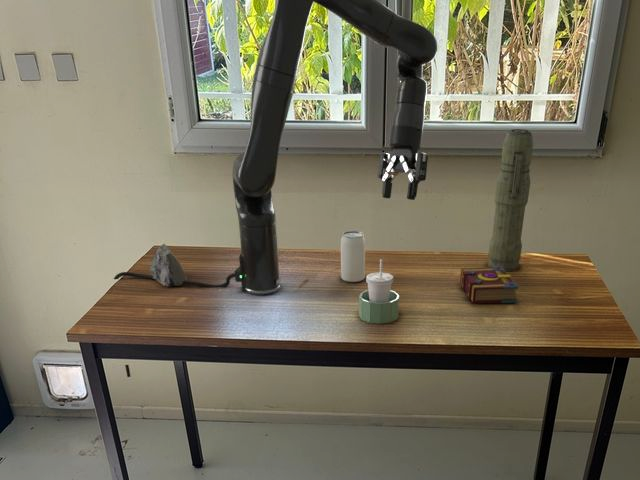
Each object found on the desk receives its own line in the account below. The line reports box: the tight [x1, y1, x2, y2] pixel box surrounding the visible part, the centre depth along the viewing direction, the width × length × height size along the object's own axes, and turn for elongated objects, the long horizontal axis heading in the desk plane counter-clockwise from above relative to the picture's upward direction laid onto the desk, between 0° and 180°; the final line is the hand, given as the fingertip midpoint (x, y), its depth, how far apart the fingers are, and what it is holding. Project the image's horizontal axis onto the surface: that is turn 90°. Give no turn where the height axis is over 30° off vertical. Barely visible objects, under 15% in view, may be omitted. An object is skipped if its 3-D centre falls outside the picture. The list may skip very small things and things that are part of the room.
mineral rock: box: [149, 243, 188, 288], centre depth 186 cm, size 13×11×10 cm
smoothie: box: [365, 258, 394, 303], centre depth 164 cm, size 6×6×14 cm
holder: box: [358, 289, 400, 325], centre depth 167 cm, size 9×9×5 cm
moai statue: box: [487, 128, 534, 272], centre depth 188 cm, size 9×12×35 cm
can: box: [340, 230, 366, 283], centre depth 186 cm, size 6×6×12 cm
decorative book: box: [459, 266, 519, 304], centre depth 179 cm, size 11×16×5 cm
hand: (398, 198), depth 172 cm, fingers open, 8 cm apart
